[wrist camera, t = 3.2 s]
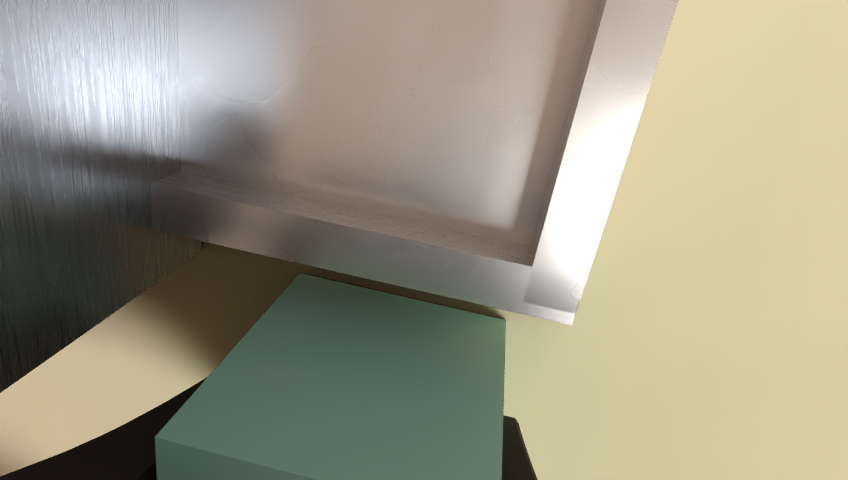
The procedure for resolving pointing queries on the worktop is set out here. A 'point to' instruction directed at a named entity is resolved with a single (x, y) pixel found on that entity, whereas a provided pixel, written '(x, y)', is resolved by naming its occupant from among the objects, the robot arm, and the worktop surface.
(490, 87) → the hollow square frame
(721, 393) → the worktop surface
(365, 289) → the teal block with knob
